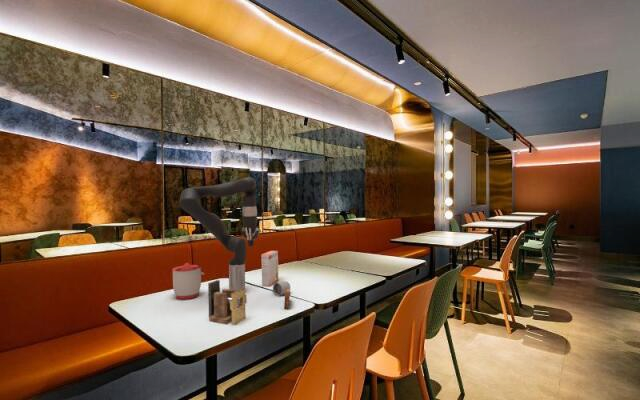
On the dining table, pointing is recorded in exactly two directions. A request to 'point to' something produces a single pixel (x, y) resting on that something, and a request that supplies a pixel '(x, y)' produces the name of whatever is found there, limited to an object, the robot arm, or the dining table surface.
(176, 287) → the citrus juicer
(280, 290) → the ceramic mug
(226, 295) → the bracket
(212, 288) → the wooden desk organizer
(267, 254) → the cracker box
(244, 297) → the tan wooden flat panel
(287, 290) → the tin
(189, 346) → the dining table surface
